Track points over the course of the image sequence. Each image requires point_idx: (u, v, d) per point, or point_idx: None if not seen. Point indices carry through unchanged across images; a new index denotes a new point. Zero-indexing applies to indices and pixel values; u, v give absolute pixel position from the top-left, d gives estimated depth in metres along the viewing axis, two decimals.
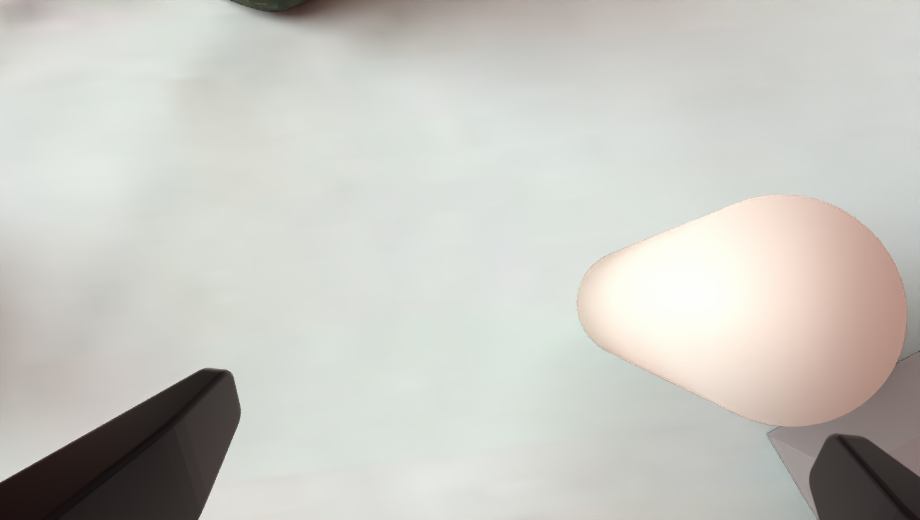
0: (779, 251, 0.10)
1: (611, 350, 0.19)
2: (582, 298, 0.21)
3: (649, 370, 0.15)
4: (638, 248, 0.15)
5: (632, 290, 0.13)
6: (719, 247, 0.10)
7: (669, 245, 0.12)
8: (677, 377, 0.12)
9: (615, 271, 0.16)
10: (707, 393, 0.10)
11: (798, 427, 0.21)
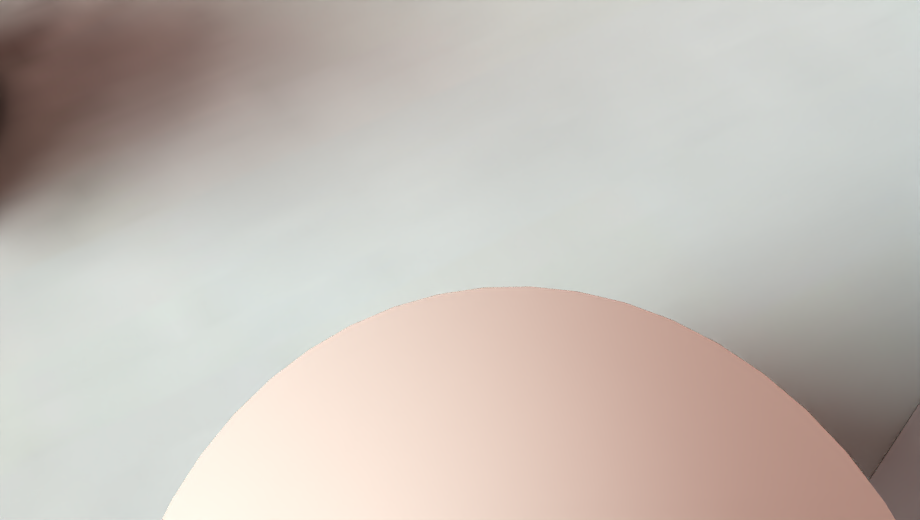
0: (436, 494, 0.03)
1: None
2: None
3: None
4: None
5: None
6: None
7: None
8: None
9: None
10: None
11: None
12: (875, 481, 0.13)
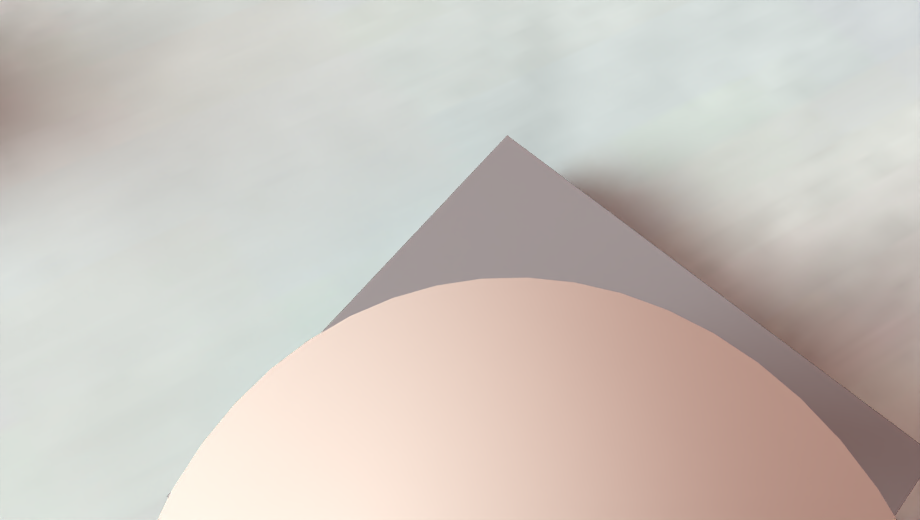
0: (435, 481, 0.03)
1: None
2: None
3: None
4: None
5: None
6: None
7: None
8: None
9: None
10: None
11: None
12: None
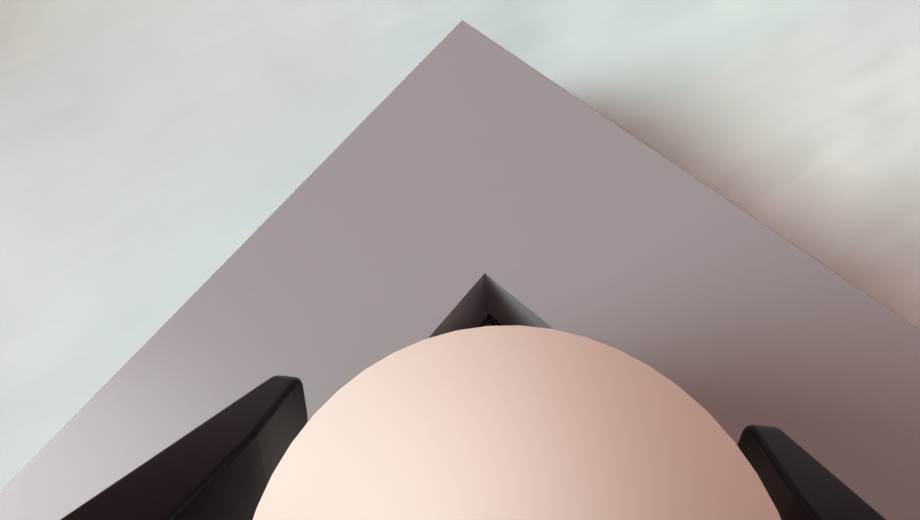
0: (455, 469, 0.04)
1: None
2: None
3: None
4: None
5: None
6: (325, 507, 0.04)
7: None
8: None
9: None
10: None
11: None
12: None
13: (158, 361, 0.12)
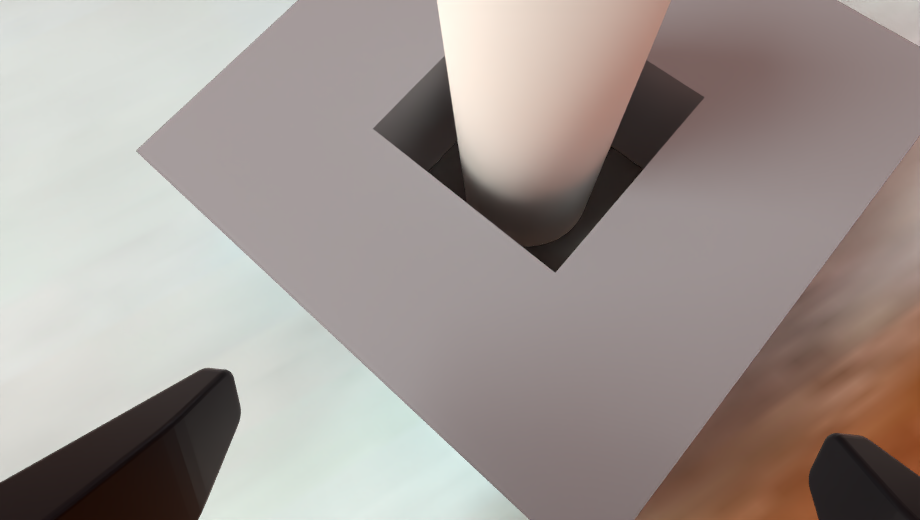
0: None
1: (504, 208, 0.16)
2: (465, 188, 0.18)
3: (518, 146, 0.12)
4: None
5: (440, 23, 0.11)
6: None
7: None
8: (498, 37, 0.09)
9: None
10: None
11: None
12: None
13: (274, 42, 0.16)
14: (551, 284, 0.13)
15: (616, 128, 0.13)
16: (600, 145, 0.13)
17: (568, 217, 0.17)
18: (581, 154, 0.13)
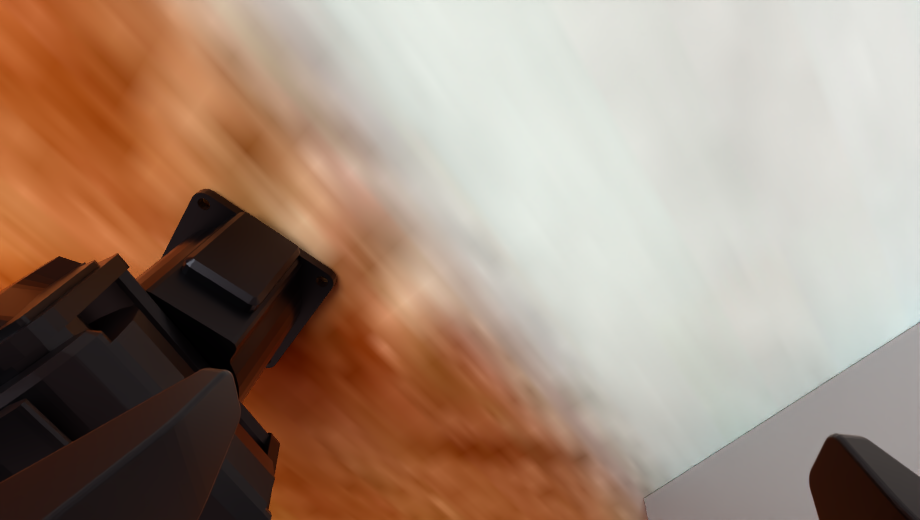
0: None
1: None
2: None
3: None
4: None
5: None
6: None
7: None
8: None
9: None
10: None
11: None
12: None
13: None
14: None
15: None
16: None
17: None
18: None
